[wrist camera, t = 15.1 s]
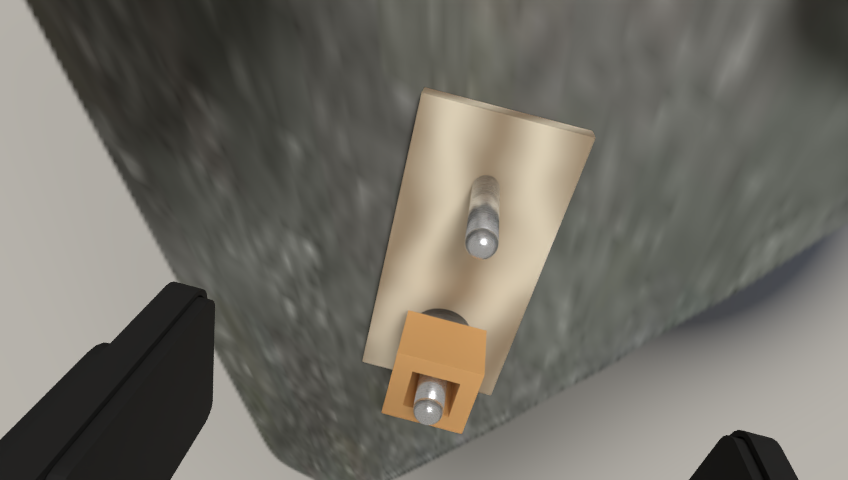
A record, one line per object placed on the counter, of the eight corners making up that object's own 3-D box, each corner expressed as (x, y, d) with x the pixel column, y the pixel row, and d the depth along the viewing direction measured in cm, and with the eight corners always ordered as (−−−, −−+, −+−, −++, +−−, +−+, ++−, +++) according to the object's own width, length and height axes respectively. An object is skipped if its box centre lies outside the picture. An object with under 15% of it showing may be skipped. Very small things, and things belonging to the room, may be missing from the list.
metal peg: (405, 347, 47) (383, 435, 39) (417, 301, 45) (397, 385, 36) (462, 362, 47) (453, 453, 39) (478, 317, 44) (472, 405, 36)
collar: (408, 310, 43) (397, 352, 38) (486, 330, 43) (484, 375, 38) (393, 367, 46) (381, 412, 41) (465, 386, 46) (461, 433, 41)
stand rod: (468, 196, 39) (459, 261, 31) (476, 171, 38) (468, 232, 30) (495, 203, 39) (493, 270, 31) (503, 179, 38) (502, 241, 30)
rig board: (366, 350, 50) (362, 361, 49) (424, 87, 37) (421, 92, 36) (491, 383, 50) (490, 395, 49) (592, 130, 37) (595, 137, 36)
